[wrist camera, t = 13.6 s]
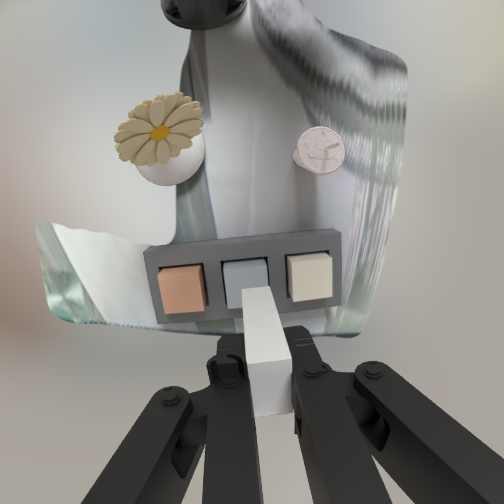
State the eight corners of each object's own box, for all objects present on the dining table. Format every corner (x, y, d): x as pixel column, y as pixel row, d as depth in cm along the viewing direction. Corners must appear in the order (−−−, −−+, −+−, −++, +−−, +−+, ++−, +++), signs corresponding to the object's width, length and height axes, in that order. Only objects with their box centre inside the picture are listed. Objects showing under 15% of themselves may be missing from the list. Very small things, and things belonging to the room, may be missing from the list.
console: (150, 246, 45) (143, 252, 42) (332, 228, 47) (341, 232, 43) (162, 313, 48) (157, 323, 44) (333, 296, 49) (340, 305, 46)
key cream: (285, 253, 45) (291, 262, 40) (322, 250, 45) (332, 258, 41) (287, 289, 47) (293, 301, 42) (322, 285, 47) (332, 296, 42)
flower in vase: (141, 191, 43) (52, 204, 19) (133, 124, 41) (47, 78, 16) (221, 177, 44) (205, 170, 19) (212, 108, 41) (191, 32, 17)
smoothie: (329, 167, 44) (367, 162, 31) (294, 182, 44) (320, 182, 31) (313, 131, 43) (345, 111, 29) (277, 145, 43) (296, 130, 29)
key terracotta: (165, 265, 44) (157, 275, 40) (202, 262, 45) (198, 271, 40) (171, 300, 46) (164, 313, 41) (207, 297, 46) (204, 311, 41)
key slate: (224, 260, 45) (223, 269, 40) (263, 256, 45) (266, 265, 40) (228, 296, 46) (228, 309, 41) (265, 292, 46) (269, 304, 42)
